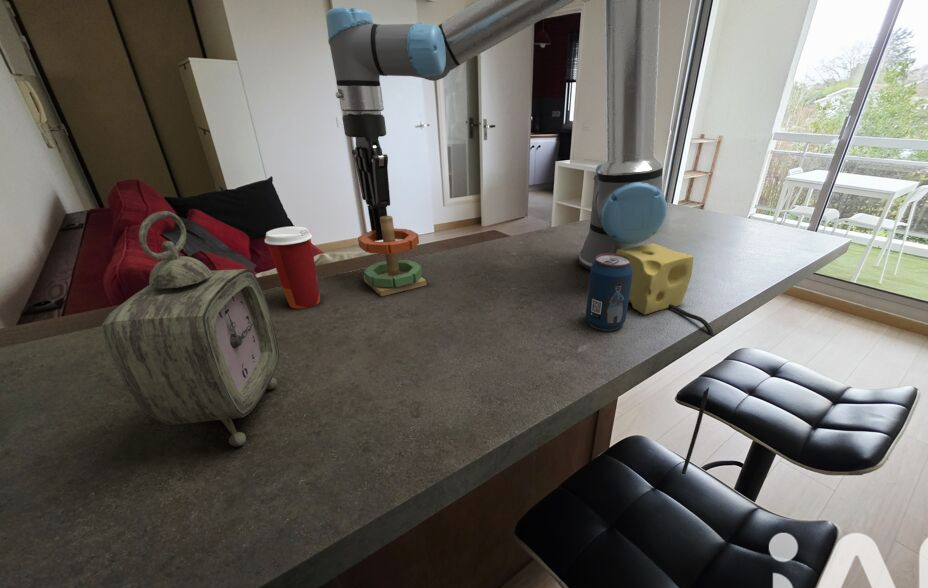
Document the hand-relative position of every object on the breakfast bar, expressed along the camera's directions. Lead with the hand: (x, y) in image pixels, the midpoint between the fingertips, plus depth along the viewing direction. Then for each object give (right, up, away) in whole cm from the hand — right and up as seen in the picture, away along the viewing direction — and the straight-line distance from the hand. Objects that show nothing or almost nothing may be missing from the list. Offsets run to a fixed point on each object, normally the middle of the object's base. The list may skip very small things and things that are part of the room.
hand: (381, 237), depth 88 cm
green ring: (+3, -8, 0) cm, 9 cm away
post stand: (+3, -10, +1) cm, 10 cm away
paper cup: (-12, -15, -8) cm, 21 cm away
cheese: (+54, -14, -6) cm, 56 cm away
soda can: (+44, -19, -14) cm, 50 cm away
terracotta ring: (+3, -2, -3) cm, 5 cm away
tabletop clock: (-7, -30, -37) cm, 48 cm away
